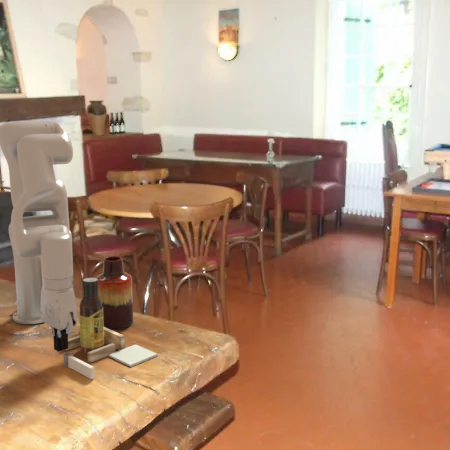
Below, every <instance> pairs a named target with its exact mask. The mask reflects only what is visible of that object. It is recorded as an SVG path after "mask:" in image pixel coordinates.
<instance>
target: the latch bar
mask: <svg viewBox="0 0 450 450" xmlns="http://www.w3.org/2000/svg"><path fill="white" fill-rule="evenodd" d="M63 363H64V367H66V368H70V369H72V370H73V371H75V372H77V373H79V374H81V375H83V376H85V377H87V378H88V379H90V380H92V379H95V378H96V376H95V366H93V365H91V364H89V363H87V362H85V361H84V360H82V359H79V358H78V357H75V356H74V355H73V353H72V352H70V351H68V352H65V353H63Z"/></svg>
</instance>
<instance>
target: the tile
mask: <svg viewBox="0 0 450 450" xmlns="http://www.w3.org/2000/svg"><path fill="white" fill-rule="evenodd" d="M108 357H109V358H112V359H113V360H115V361H117V362H119V363H121V364H124V365H125V366H127V367H130V368H132V367H134V366H137V365H139V364H141V363H144V362H147V361H149V360H151V359H154V358H156V357H158V353H156V352H155V351H152V350H150V349H147V348H145V347H143V346H140V345H138V344H132V345H131V346H128V347H125V349H122V350H117V351H115V352H114V353H112V354H109V356H108Z"/></svg>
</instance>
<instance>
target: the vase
mask: <svg viewBox="0 0 450 450" xmlns="http://www.w3.org/2000/svg"><path fill="white" fill-rule="evenodd" d="M102 265H103V266H102V267H103V268H102V273H100V274H98V275H96V277H95V278H97V279H98V296H99V298H100V301H101V303H102V306H103V321H104V327H106V328H108V329H110V330H113V331H118V330H123V329H124V330H125V329H127V328H129V327H131V326H132V325H133V323H134V305H133V303H134V301H133V277H132V275H131V274H130V273H128V272H125V271H124V270H125V269H124V263H123V257H121V256H117V255H114V256H113V255H111V256H107V257H106V256H105V258H103V264H102Z"/></svg>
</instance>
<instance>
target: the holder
mask: <svg viewBox="0 0 450 450" xmlns="http://www.w3.org/2000/svg"><path fill="white" fill-rule="evenodd" d="M125 336H126V335H124V334H121V333H119V332H117V331H116V330H110V329H108V328H106V327H104V344H105V345H103V347H101V348H98V349H95V350H93V351H90V352H87V354H86V355H87V362H88V363H94V362H97V361H99V360H101V359H104V358H107V357H109V354H112V353H114V352H116V350H117V351H120V350H122V349H125V348H126V345H125V344H126V343H125V342H126V340H125V339H126V338H125ZM79 347H81V345H80V334H79V335H77V336H74V337H70V338H68V348H67V349H65V351H70V350H73V349H75V348H79Z"/></svg>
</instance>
